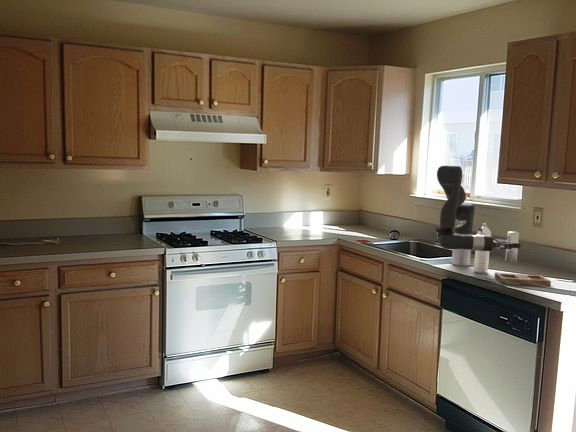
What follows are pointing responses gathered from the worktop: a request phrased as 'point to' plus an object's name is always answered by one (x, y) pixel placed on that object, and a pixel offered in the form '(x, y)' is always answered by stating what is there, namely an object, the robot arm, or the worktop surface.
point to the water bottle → (482, 253)
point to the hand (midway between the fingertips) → (518, 244)
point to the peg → (512, 253)
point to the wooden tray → (522, 279)
